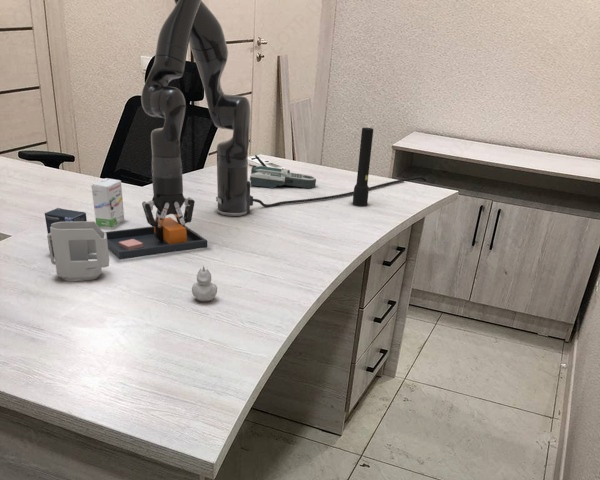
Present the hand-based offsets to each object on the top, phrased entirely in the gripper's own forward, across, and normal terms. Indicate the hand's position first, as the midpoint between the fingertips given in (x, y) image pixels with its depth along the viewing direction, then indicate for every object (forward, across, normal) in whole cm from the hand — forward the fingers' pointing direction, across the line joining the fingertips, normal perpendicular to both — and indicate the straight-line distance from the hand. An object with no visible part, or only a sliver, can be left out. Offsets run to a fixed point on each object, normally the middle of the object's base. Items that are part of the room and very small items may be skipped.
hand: (170, 239), depth 167 cm
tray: (+1, -5, 0) cm, 5 cm away
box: (+1, -26, +1) cm, 26 cm away
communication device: (+1, +63, +45) cm, 77 cm away
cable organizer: (+1, -27, -15) cm, 31 cm away
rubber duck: (+1, -8, -38) cm, 39 cm away
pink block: (0, -11, 0) cm, 11 cm away
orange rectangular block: (0, 0, 0) cm, 0 cm away
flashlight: (+1, +74, +13) cm, 75 cm away
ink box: (+1, -9, +22) cm, 24 cm away
